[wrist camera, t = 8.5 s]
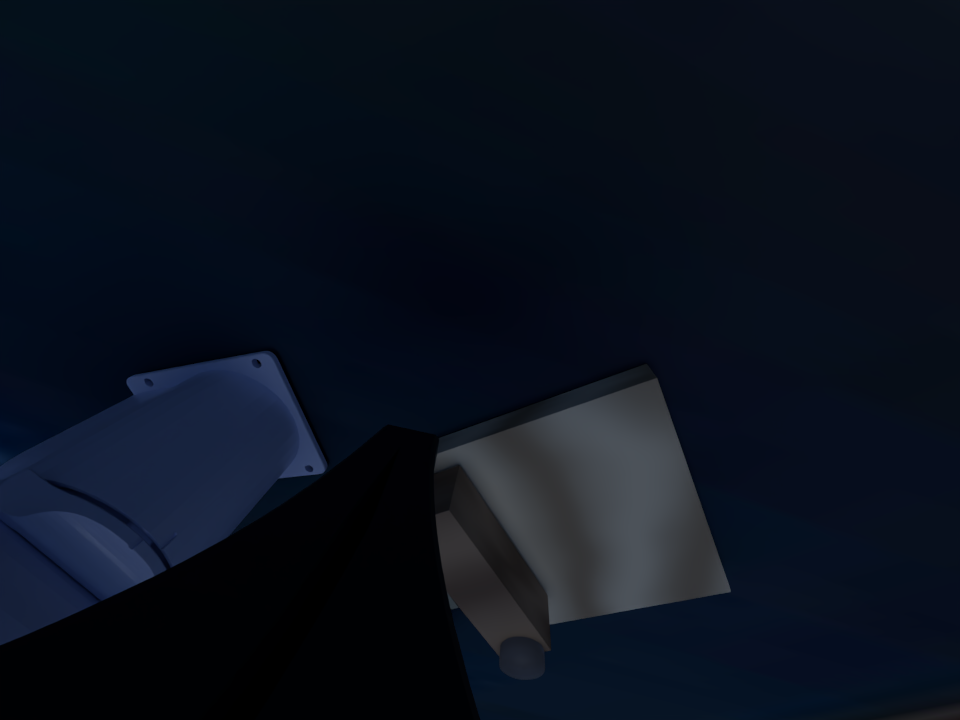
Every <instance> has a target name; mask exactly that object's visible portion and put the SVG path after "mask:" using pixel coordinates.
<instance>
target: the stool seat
mask: <svg viewBox="0 0 960 720" xmlns="http://www.w3.org/2000/svg"><path fill="white" fill-rule="evenodd" d="M438 439H439V445H438V451H437V457H436V463H435V469H434V474H437V473H439V472H442V471H445V470H447V469H450V468H453V467H456V466H458V465H460V466H461V468H462V469H463V471H464V472H465V474H466V475H467V477H468V478H469V480H470V481H471V483H472V484H473V486H474V487H475V489H476V490H477V492H478V493H479V495H480V496H481V498H482V499H483V500H484V502H485V503H486V505H487V506H488V508H489V509H490V511H491V512H492V514H493V515H494V517H495V518H496V520H497V521H498V523H499V524H500V526H501V527H502V529H503V530H504V531H505V533H506V534H507V536H508V537H509V539H510V540H511V542H512V543H513V545H514V546H515V548H516V549H517V551H518V552H519V554H520V555H521V557H522V558H523V560H524V561H525V562H526V564H527V565H528V567H529V568H530V570H531V571H532V573H533V574H534V576H535V577H536V579H537V580H538V582H539V583H540V585H541V586H542V588H543V589H544V591H545V592H546V593H547V595H548V608H549V624H555V623H561V622H566V621H572V620H577V619H583V618H588V617H594V616H599V615H605V614H610V613H616V612H621V611H627V610H633V609H638V608H644V607H649V606H655V605H660V604H666V603H671V602H677V601H682V600H688V599H693V598H699V597H705V596H710V595H716V594H721V593H727V592H731V590H730V587H729V584H728V581H727V578H726V575H725V572H724V570H723V567H722V564H721V561H720V558H719V555H718V552H717V549H716V547H715V544H714V541H713V538H712V535H711V532H710V529H709V526H708V524H707V521H706V518H705V515H704V512H703V509H702V506H701V503H700V500H699V498H698V495H697V492H696V489H695V486H694V483H693V480H692V477H691V475H690V472H689V469H688V466H687V463H686V460H685V457H684V454H683V451H682V449H681V446H680V443H679V440H678V437H677V434H676V431H675V428H674V426H673V423H672V420H671V417H670V414H669V411H668V408H667V405H666V402H665V400H664V397H663V394H662V391H661V388H660V385H659V382H658V379H657V377H656V376H655V375H654V373H653V372H652V370H651V369H650V368H649V366H648V365H647V364H644V365H641V366H639V367H636V368H633V369H630V370H627V371H625V372H622V373H619V374H616V375H613V376H611V377H608V378H605V379H602V380H599V381H597V382H594V383H591V384H588V385H586V386H583V387H580V388H577V389H574V390H572V391H569V392H566V393H563V394H560V395H558V396H555V397H552V398H549V399H546V400H544V401H541V402H538V403H535V404H533V405H530V406H527V407H524V408H521V409H519V410H516V411H513V412H510V413H507V414H505V415H502V416H499V417H496V418H493V419H491V420H488V421H485V422H482V423H480V424H477V425H474V426H471V427H468V428H466V429H463V430H460V431H457V432H454V433H452V434H449V435H446V436H443V437H440V438H438ZM447 595H448V599H449V604H450V609H455V608H459V606H458V605H457V604H456V603H455V601H454V600H453V599H452V598H451V596H450V595H449V594H448V593H447Z"/></svg>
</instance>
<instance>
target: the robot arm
mask: <svg viewBox="0 0 960 720" xmlns="http://www.w3.org/2000/svg"><path fill="white" fill-rule="evenodd" d="M257 360H259V361H260V362H261V364H259V363H258V362H257ZM127 385H128V387H129V388H130V390H131V391H132V393H133V394H134V395H133V396H131V397H129V398H127V399H125V400H123V401H121V402H119V403H118V404H116V405H114V406H112V407H110V408H108V409H106V410H104V411H102V412H100V413H98V414H96V415H94V416H92V417H90V418H88V419H87V420H85V421H83V422H81V423H79V424H77V425H75V426H73V427H71V428H69V429H67V430H65V431H63V432H61V433H59V434H57V435H55V436H54V437H52V438H50V439H48V440H46V441H44V442H42V443H40V444H38V445H36V446H34V447H32V448H30V449H28V450H26V451H24V452H23V453H21V454H19V455H17V456H16V457H14V458H12V459H11V460H9V461H8V462H6V463H5V464H3V465H2V466H1V467H0V720H480V718H479V714H478V711H477V708H476V704H475V701H474V698H473V694H472V691H471V688H470V684H469V680H468V676H467V673H466V669H465V665H464V661H463V657H462V653H461V649H460V646H459V642H458V638H457V634H456V630H455V626H454V622H453V618H452V613H451V609H450V604H449V599H448V595H447V590H446V585H445V579H444V574H443V568H442V563H441V556H440V550H439V543H438V534H437V526H436V516H435V501H434V469H435V463H436V457H437V451H438V445H439V439H438V437H437V436H436V435H433V434H429V433H424V432H420V431H415V430H410V429H406V428H401V427H397V426H392V425H387V426H385V427H383V428H382V429H381V430H380V431H379V432H378V433H376V434H375V435H374V436H373V437H372V438H370V439H369V440H368V441H367V442H366V443H364V444H363V445H362V446H361V447H360V448H358V449H357V450H356V451H355V452H353V453H352V454H351V455H350V456H348V457H347V458H346V459H344V460H343V461H342V462H341V463H339V464H338V465H337V466H335V467H334V468H333V469H331V470H330V471H329V472H327V473H326V474H325V475H323V476H322V477H321V478H319V479H318V480H317V481H315V482H314V483H312V484H311V485H309V486H308V487H306V488H305V489H303V490H302V491H301V492H299V493H298V494H296V495H295V496H293V497H292V498H290V499H289V500H287V501H286V502H285V503H283V504H281V505H280V506H278V507H277V508H275V509H274V510H272V511H271V512H269V513H267V514H266V515H264V516H263V517H261V518H259V519H258V520H256V521H254V522H253V523H251V524H249V525H248V526H246V527H244V528H243V529H241V530H239V531H237V532H236V533H234V534H232V535H231V536H229V535H230V534H231V533H232V532H233V530H234V529H235V528H236V527H237V526H238V525H239V523H240V522H241V521H242V520H243V519H244V518H245V516H246V515H247V514H248V513H249V512H250V511H251V510H252V508H253V507H254V506H255V505H256V504H257V503H258V501H259V500H260V499H261V498H262V497H263V496H264V494H265V493H266V492H267V491H268V490H269V489H270V487H271V486H272V485H273V484H274V483H275V482H276V480H277V479H278V478H287V477H296V476H305V475H314V474H321V473H323V472H324V471H325V470H326V469H327V466H328V465H327V462H326V460H325V458H324V456H323V454H322V452H321V449H320V447H319V445H318V443H317V441H316V439H315V437H314V435H313V433H312V430H311V428H310V426H309V424H308V422H307V420H306V418H305V416H304V414H303V411H302V409H301V407H300V405H299V403H298V401H297V399H296V397H295V395H294V392H293V390H292V388H291V386H290V384H289V382H288V380H287V378H286V376H285V373H284V371H283V369H282V367H281V365H280V363H279V361H278V359H277V357H276V356H275V354H273V353H272V352H270V351H261V352H256V353H250V354H245V355H239V356H234V357H228V358H223V359H218V360H212V361H207V362H201V363H196V364H190V365H185V366H179V367H174V368H168V369H163V370H157V371H152V372H146V373H141V374H136V375H133V376H131V377H129V378H128V379H127ZM309 465H310V466H312V467H313V468H312V467H310V466H309ZM228 536H229V537H228Z"/></svg>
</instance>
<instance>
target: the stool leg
mask: <svg viewBox="0 0 960 720" xmlns="http://www.w3.org/2000/svg"><path fill="white" fill-rule="evenodd" d="M434 501H435V516H436V526H437V534H438V543H439V550H440V556H441V563H442V568H443V574H444V579H445V585H446V590H447V593H448V594H449V595H450V596H451V598H452V599H453V600H454V601H455V603H456V604H457V605H458V606H459V608H460V609H461V610H462V611H463V612H464V614H465V615H466V616H467V617H468V619H469V620H470V621H471V622H472V623H473V625H474V626H475V627H476V628H477V630H478V631H479V632H480V633H481V634H482V636H483V637H484V638H485V639H486V641H487V642H488V643H489V644H490V646H491V647H492V648H493V649H494V650H495V652H496V653H497V654H498V655H499V657H500V660H499V666H500V669H501V670H502V671H503V672H504V673H505V674H507V675H508V676H510V677H513V678H516V679H522V680H530V679H535V678H538V677H540V676H541V675H542V674H543V673H544V671H545V659H544V652H545V651H550V650H551V641H550V624H549V608H548V595H547V593H546V592H545V591H544V589H543V588H542V586H541V585H540V583H539V582H538V580H537V579H536V577H535V576H534V574H533V573H532V571H531V570H530V568H529V567H528V565H527V564H526V562H525V561H524V560H523V558H522V557H521V555H520V554H519V552H518V551H517V549H516V548H515V546H514V545H513V543H512V542H511V540H510V539H509V537H508V536H507V534H506V533H505V531H504V530H503V529H502V527H501V526H500V524H499V523H498V521H497V520H496V518H495V517H494V515H493V514H492V512H491V511H490V509H489V508H488V506H487V505H486V503H485V502H484V500H483V499H482V498H481V496H480V495H479V493H478V492H477V490H476V489H475V487H474V486H473V484H472V483H471V481H470V480H469V478H468V477H467V475H466V474H465V472H464V471H463V469H462V468H461V466H460V465H458V466H456V467H453V468H450V469H447V470H445V471H442V472H439V473H437V474H434Z"/></svg>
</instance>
